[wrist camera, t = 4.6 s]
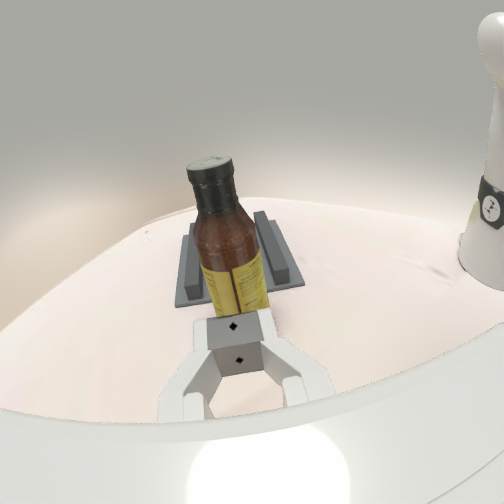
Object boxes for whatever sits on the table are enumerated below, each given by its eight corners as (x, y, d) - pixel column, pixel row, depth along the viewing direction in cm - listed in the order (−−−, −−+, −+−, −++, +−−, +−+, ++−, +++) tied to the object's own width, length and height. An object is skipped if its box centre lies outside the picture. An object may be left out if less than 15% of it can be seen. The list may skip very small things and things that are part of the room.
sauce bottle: (268, 303, 37) (250, 147, 26) (273, 340, 32) (253, 163, 21) (218, 309, 37) (184, 157, 27) (216, 345, 32) (170, 176, 21)
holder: (275, 221, 56) (273, 207, 54) (304, 285, 39) (304, 267, 38) (183, 237, 55) (180, 224, 53) (175, 307, 38) (169, 291, 37)
